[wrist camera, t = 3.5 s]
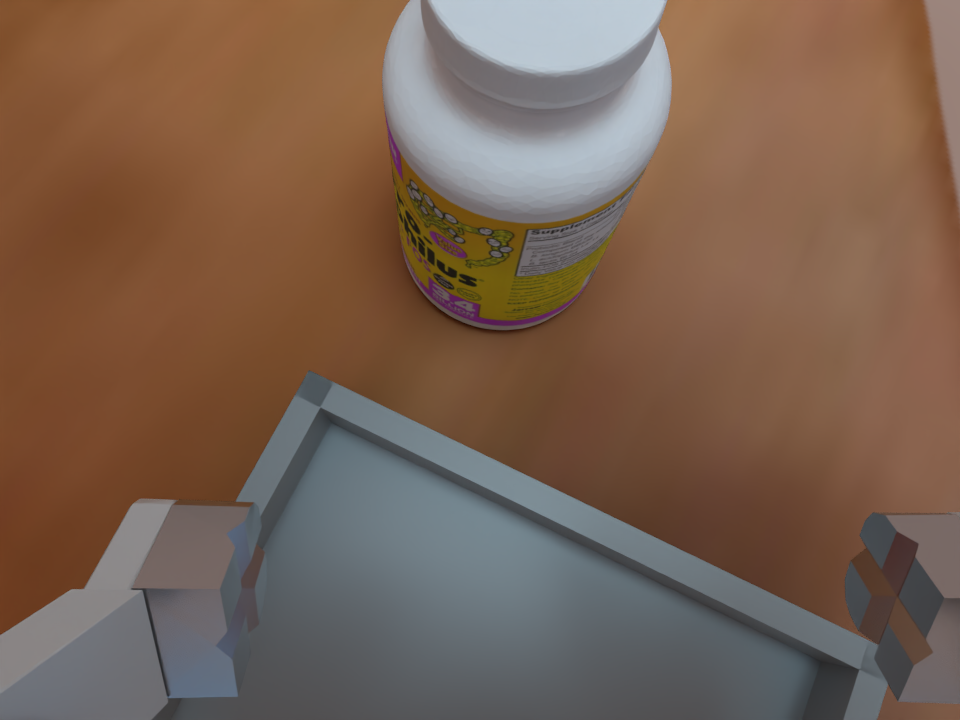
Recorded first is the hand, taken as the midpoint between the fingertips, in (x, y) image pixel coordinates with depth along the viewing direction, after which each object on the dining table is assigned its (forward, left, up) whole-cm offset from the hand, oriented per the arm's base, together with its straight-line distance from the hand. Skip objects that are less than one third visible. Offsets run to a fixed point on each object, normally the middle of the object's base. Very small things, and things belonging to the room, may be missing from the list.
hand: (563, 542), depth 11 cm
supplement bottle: (-4, +10, -14) cm, 18 cm away
